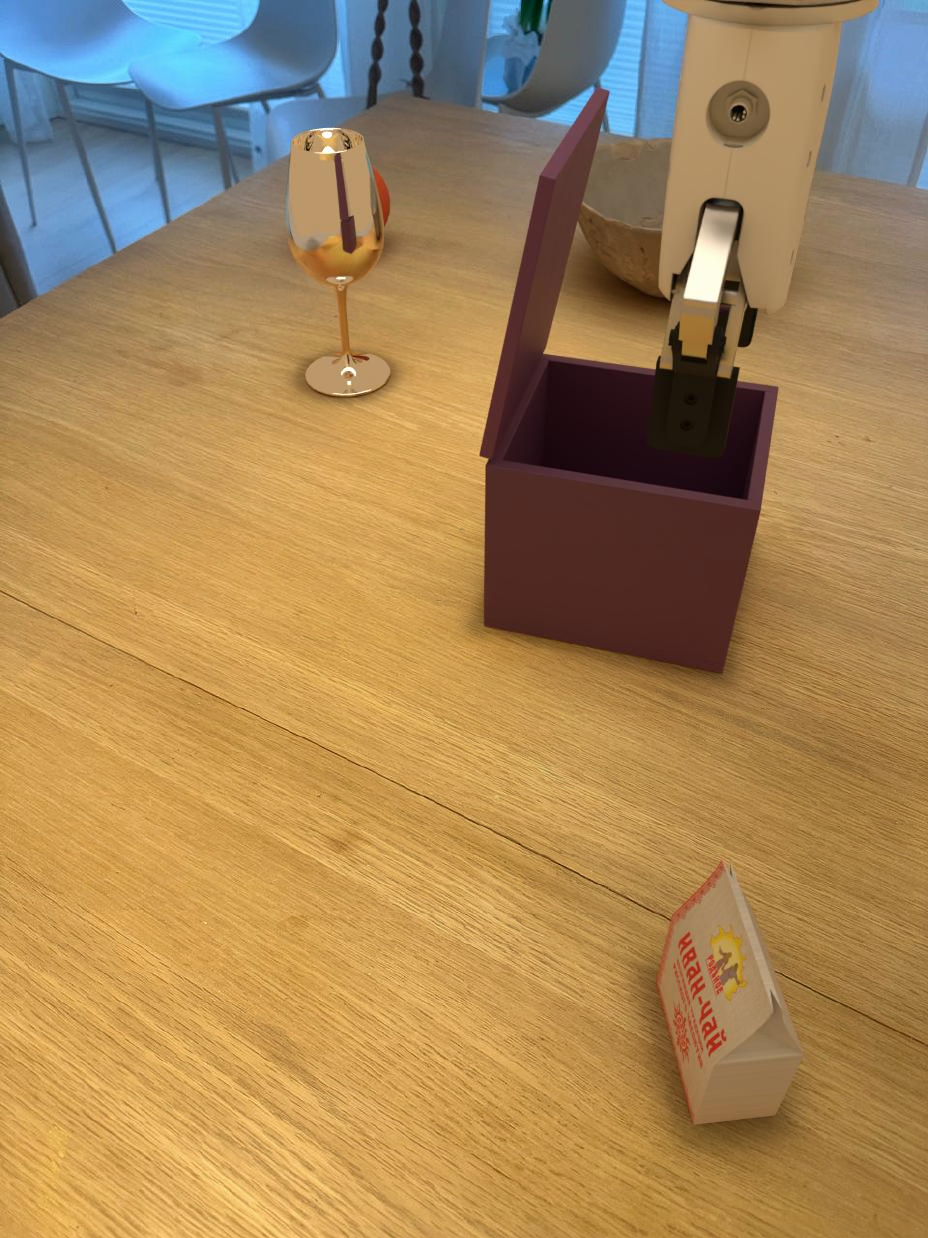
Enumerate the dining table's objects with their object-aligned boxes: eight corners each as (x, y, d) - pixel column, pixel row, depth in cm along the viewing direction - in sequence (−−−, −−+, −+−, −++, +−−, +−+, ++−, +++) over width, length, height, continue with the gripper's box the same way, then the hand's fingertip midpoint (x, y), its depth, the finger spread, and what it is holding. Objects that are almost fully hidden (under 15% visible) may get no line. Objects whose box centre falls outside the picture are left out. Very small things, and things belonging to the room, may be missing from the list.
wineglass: (333, 346, 97) (311, 116, 83) (408, 365, 94) (397, 131, 81) (286, 386, 92) (255, 148, 78) (364, 406, 89) (345, 164, 76)
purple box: (743, 543, 76) (779, 385, 67) (722, 674, 66) (760, 510, 57) (532, 506, 79) (540, 352, 70) (483, 626, 69) (485, 464, 61)
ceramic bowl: (542, 322, 100) (547, 218, 93) (568, 225, 117) (574, 130, 110) (780, 341, 97) (804, 235, 90) (772, 238, 114) (791, 142, 107)
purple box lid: (610, 89, 58) (596, 86, 58) (556, 178, 49) (539, 174, 49) (545, 348, 70) (534, 344, 70) (491, 460, 60) (478, 456, 60)
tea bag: (730, 974, 51) (770, 855, 44) (775, 1115, 46) (827, 1006, 39) (656, 981, 51) (684, 863, 44) (693, 1125, 46) (731, 1016, 39)
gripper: (881, 22, 29) (766, 518, 41) (894, -91, 41) (802, 317, 53) (613, 4, 31) (576, 484, 42) (701, -99, 43) (654, 297, 54)
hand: (702, 391), depth 48 cm, fingers open, 9 cm apart
